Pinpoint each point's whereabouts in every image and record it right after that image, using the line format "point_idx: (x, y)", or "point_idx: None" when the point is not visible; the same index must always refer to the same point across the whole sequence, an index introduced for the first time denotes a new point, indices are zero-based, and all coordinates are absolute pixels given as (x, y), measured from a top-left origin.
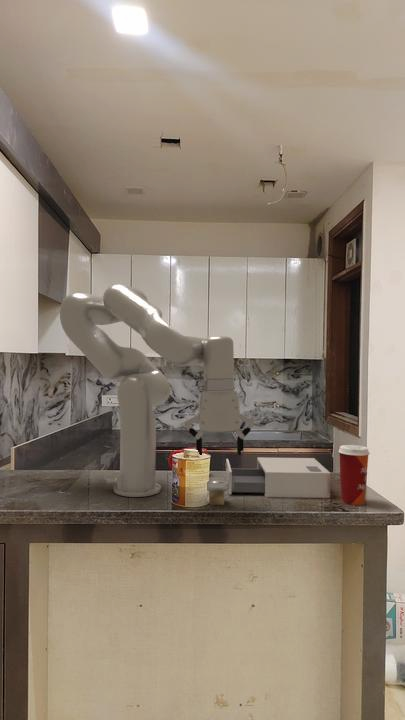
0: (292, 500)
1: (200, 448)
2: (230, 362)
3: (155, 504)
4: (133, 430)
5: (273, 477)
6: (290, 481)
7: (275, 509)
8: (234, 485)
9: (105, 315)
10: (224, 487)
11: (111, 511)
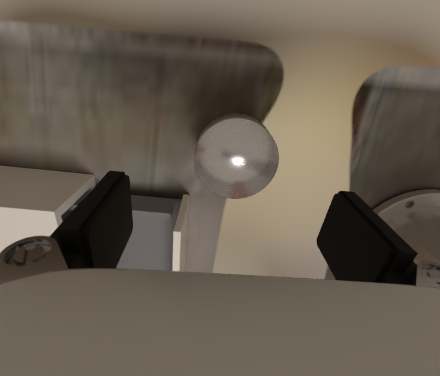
0: (17, 142)
1: (367, 210)
2: None
3: (401, 133)
4: None
5: (37, 199)
6: None
7: (64, 60)
8: (171, 208)
9: None
10: (213, 123)
11: None
